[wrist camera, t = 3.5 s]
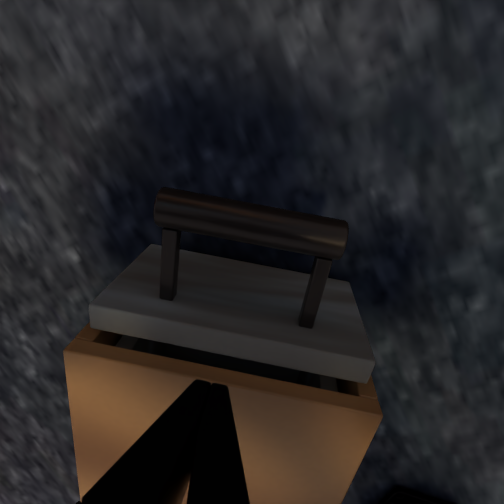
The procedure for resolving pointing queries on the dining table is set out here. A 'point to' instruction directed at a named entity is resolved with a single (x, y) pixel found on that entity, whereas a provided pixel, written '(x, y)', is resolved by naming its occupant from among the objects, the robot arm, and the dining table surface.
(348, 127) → the dining table surface
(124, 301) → the pull-out drawer
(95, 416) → the cabinet
